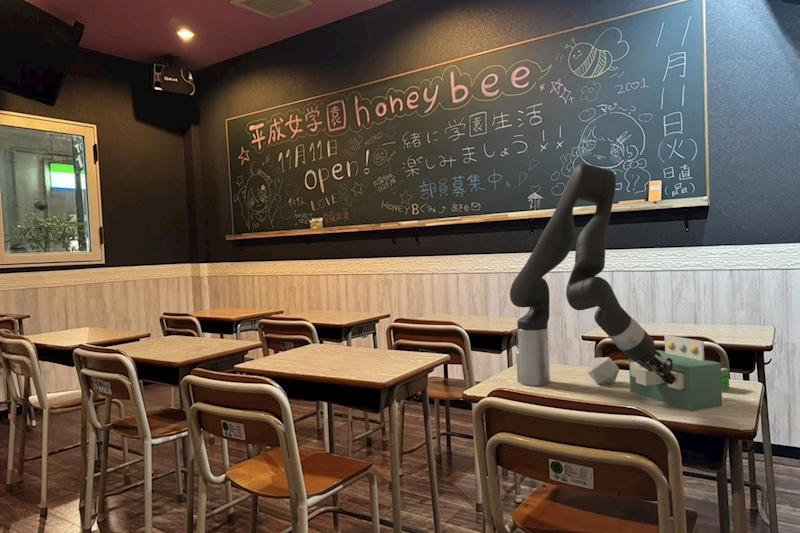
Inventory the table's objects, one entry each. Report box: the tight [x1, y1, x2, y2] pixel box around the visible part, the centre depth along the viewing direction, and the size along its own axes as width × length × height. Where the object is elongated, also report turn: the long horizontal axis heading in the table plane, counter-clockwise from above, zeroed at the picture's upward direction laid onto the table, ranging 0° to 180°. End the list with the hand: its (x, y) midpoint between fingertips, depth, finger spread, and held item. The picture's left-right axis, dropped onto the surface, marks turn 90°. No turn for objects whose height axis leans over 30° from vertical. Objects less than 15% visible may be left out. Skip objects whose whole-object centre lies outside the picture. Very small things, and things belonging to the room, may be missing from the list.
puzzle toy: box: [721, 367, 730, 391], centre depth 160 cm, size 6×6×6 cm
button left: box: [629, 362, 644, 377], centre depth 158 cm, size 4×6×4 cm, turn 107°
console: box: [628, 334, 723, 412], centre depth 152 cm, size 22×10×16 cm, turn 17°
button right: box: [668, 371, 685, 390], centre depth 144 cm, size 4×6×4 cm, turn 107°
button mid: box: [635, 368, 664, 386], centre depth 150 cm, size 4×6×4 cm, turn 107°
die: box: [587, 356, 620, 386], centre depth 172 cm, size 8×9×10 cm
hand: (671, 381), depth 143 cm, fingers closed
